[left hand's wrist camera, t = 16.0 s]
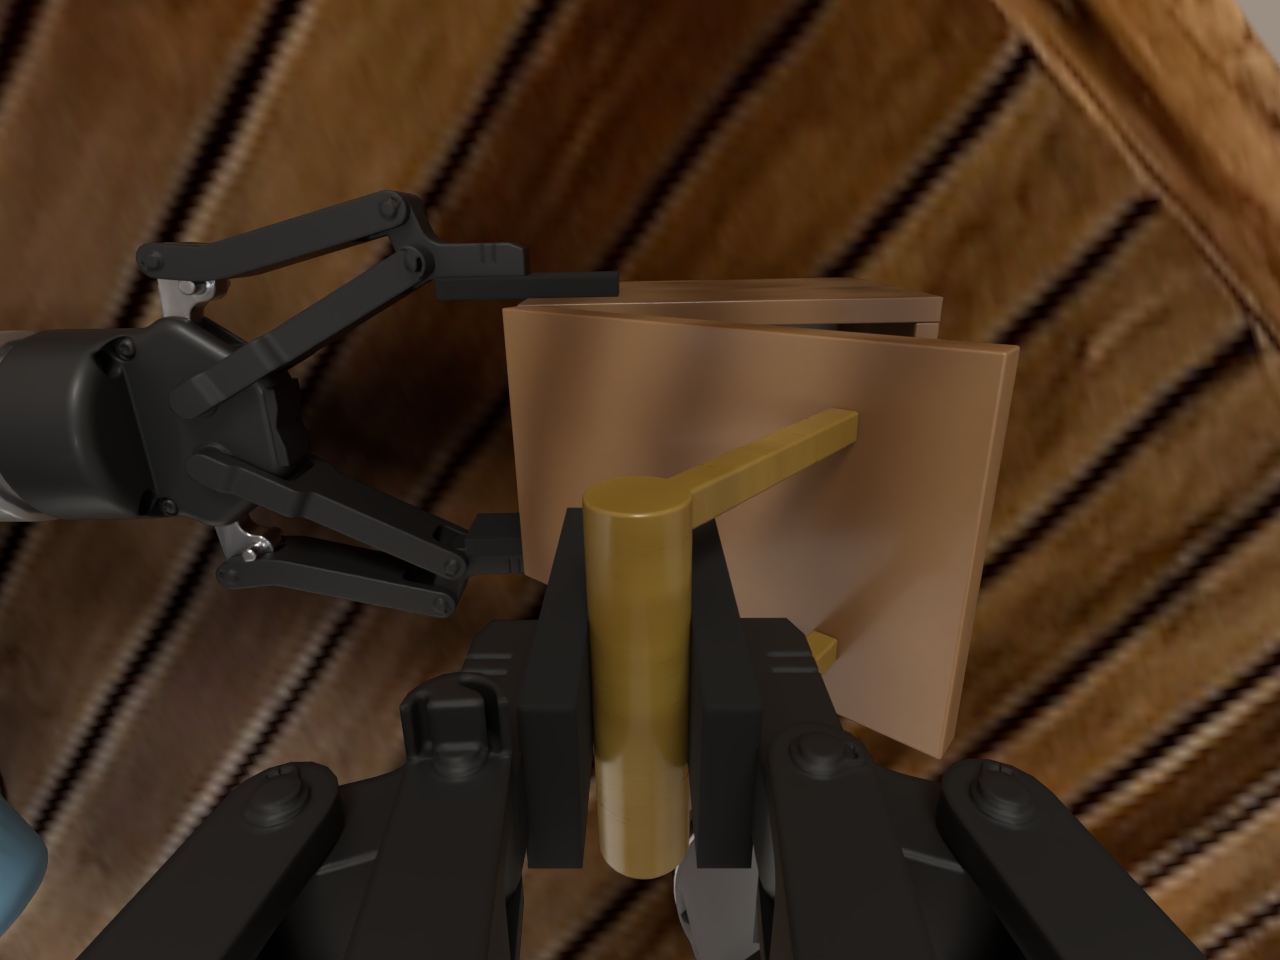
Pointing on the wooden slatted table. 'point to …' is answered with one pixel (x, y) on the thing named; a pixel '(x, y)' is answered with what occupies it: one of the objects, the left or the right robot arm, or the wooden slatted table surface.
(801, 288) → the chest
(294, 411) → the right robot arm
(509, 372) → the panel with bar handle
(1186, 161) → the wooden slatted table surface
